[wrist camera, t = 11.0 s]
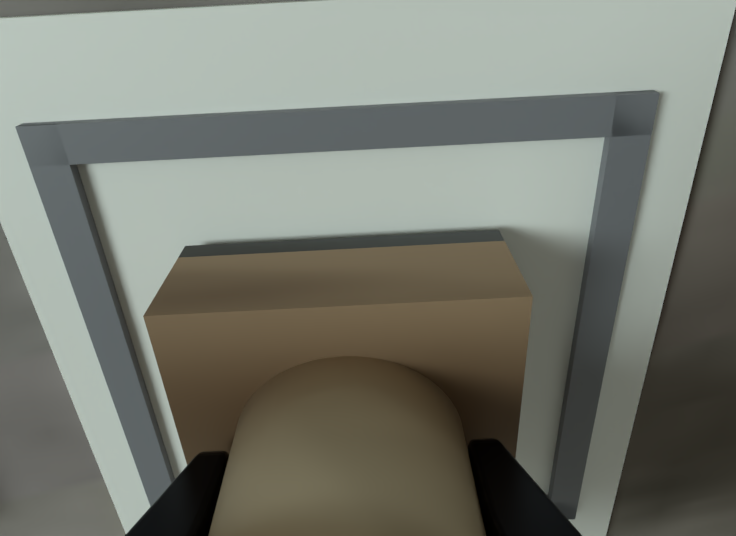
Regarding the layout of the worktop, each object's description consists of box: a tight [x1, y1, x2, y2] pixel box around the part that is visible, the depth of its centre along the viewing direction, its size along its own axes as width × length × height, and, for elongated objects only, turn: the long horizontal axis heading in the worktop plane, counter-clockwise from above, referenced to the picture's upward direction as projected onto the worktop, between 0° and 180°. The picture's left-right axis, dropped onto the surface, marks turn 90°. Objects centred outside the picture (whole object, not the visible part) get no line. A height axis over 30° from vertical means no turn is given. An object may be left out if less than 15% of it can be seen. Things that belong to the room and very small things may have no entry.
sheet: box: [0, 0, 736, 536], centre depth 10 cm, size 12×11×1 cm
